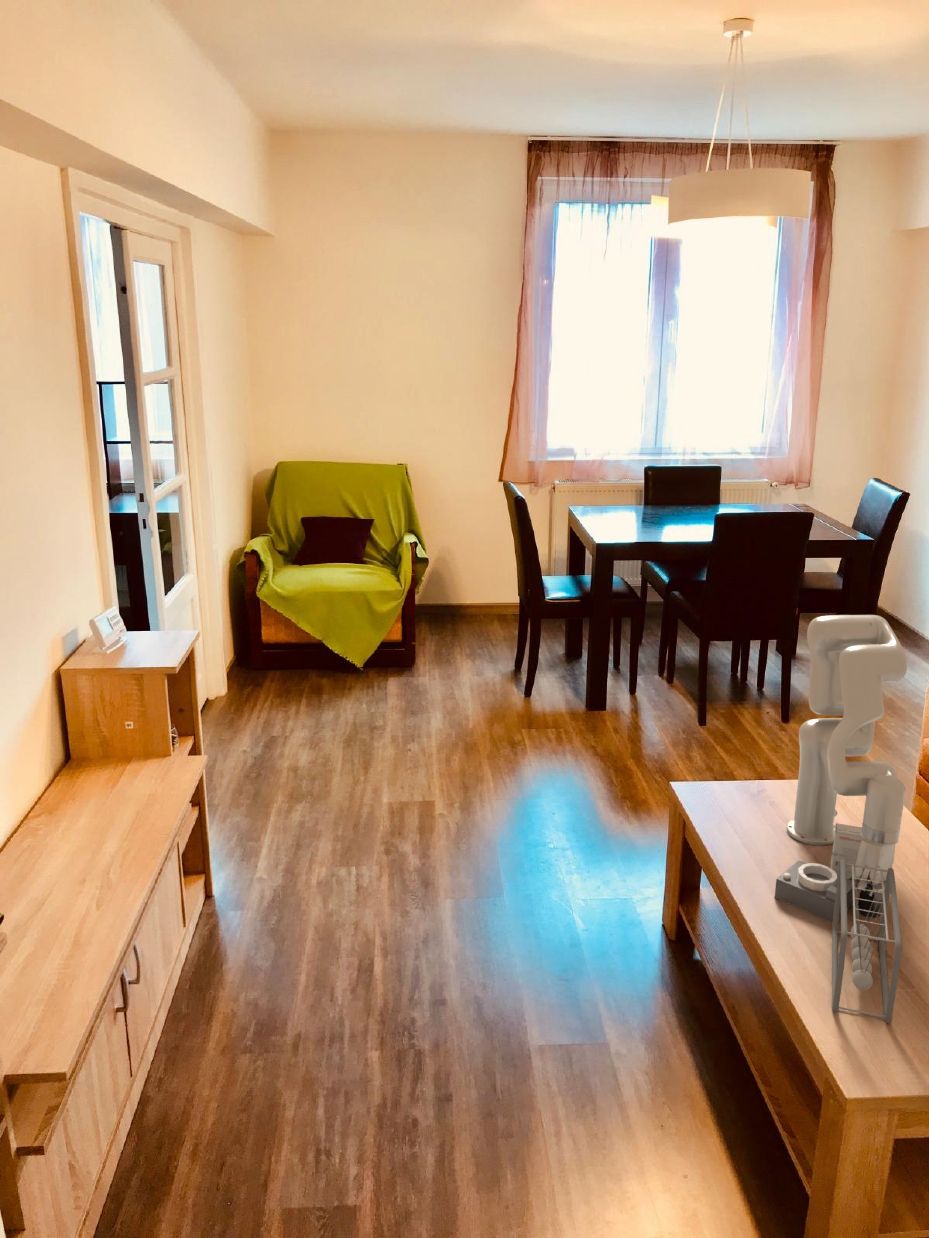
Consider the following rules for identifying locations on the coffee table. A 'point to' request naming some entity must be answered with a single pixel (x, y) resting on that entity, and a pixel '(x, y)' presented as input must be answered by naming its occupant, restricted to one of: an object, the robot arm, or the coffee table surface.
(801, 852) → the coffee table surface
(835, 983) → the newton's cradle
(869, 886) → the lens
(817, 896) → the camera body
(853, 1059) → the coffee table surface
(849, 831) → the ink box
